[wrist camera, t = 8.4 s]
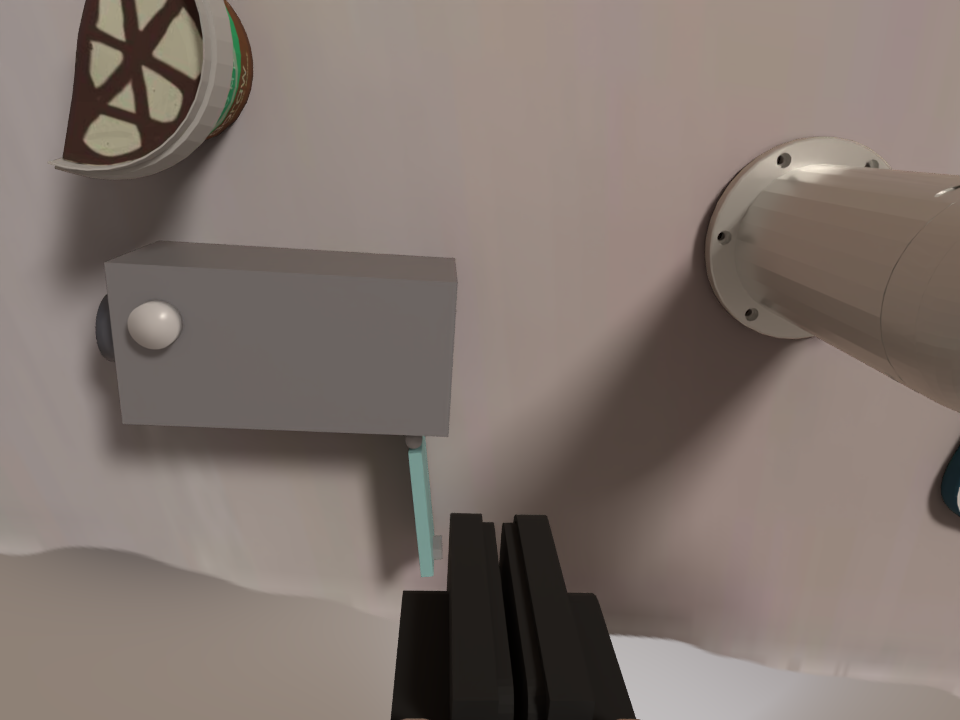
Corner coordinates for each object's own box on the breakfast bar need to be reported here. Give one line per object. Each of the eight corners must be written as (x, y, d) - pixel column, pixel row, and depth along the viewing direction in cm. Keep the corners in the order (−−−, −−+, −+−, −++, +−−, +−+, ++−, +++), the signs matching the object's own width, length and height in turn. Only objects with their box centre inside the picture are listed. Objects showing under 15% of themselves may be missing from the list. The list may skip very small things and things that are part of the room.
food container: (246, 200, 40) (185, 222, 30) (141, 164, 39) (45, 175, 29) (299, -17, 36) (249, -69, 27) (186, -63, 35) (92, -134, 26)
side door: (408, 402, 44) (404, 434, 40) (430, 400, 45) (429, 432, 40) (421, 533, 48) (419, 577, 43) (442, 531, 48) (442, 575, 43)
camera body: (455, 258, 42) (458, 286, 34) (446, 398, 45) (447, 452, 37) (132, 239, 40) (60, 264, 33) (146, 385, 43) (84, 439, 36)
